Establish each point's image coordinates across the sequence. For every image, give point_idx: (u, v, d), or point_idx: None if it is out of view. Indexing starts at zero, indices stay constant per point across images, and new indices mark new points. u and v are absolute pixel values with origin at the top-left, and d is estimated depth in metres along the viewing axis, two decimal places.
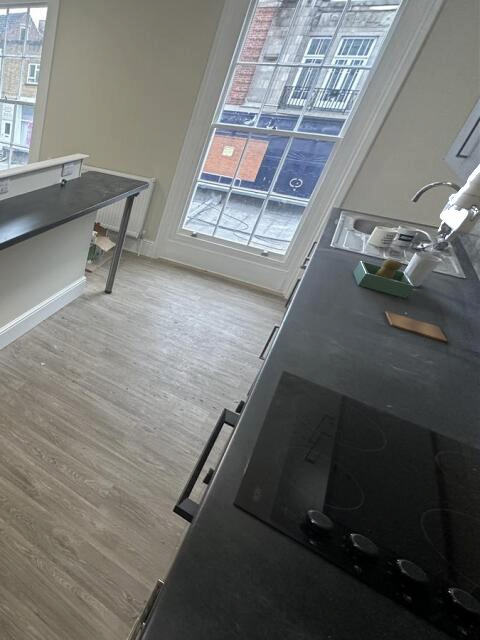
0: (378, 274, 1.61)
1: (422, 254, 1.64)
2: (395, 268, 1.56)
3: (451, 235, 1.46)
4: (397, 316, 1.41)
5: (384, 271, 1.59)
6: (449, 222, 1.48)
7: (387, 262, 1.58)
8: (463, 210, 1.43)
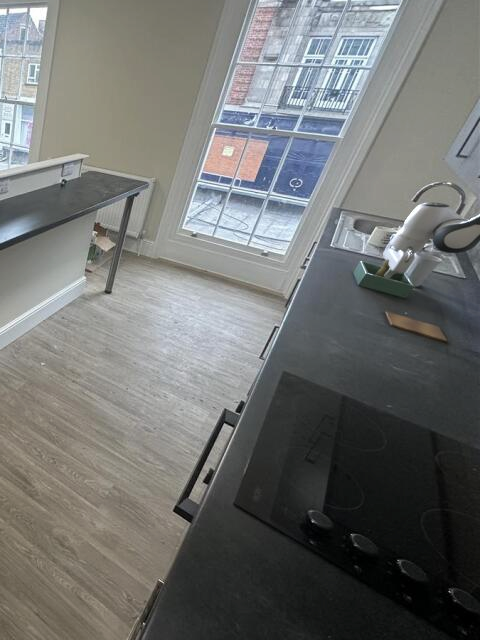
0: (378, 274, 1.61)
1: (422, 254, 1.64)
2: None
3: (389, 272, 1.56)
4: (397, 316, 1.41)
5: (384, 271, 1.59)
6: (389, 261, 1.57)
7: (387, 262, 1.58)
8: (400, 251, 1.52)
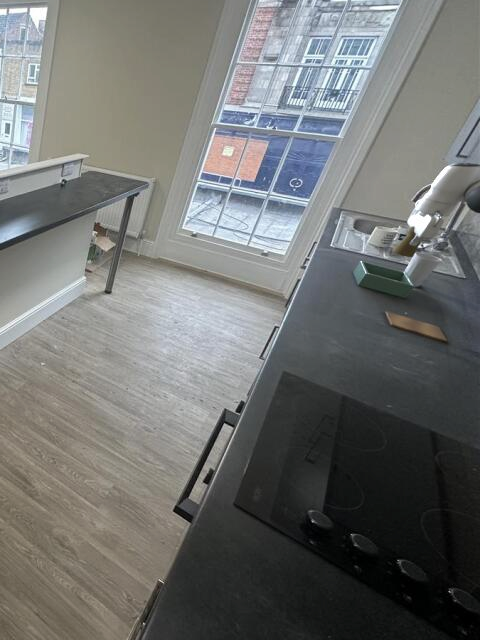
0: (403, 242, 1.52)
1: (422, 254, 1.64)
2: None
3: (415, 239, 1.48)
4: (397, 316, 1.41)
5: (410, 238, 1.50)
6: (415, 228, 1.49)
7: (413, 229, 1.49)
8: (427, 216, 1.44)
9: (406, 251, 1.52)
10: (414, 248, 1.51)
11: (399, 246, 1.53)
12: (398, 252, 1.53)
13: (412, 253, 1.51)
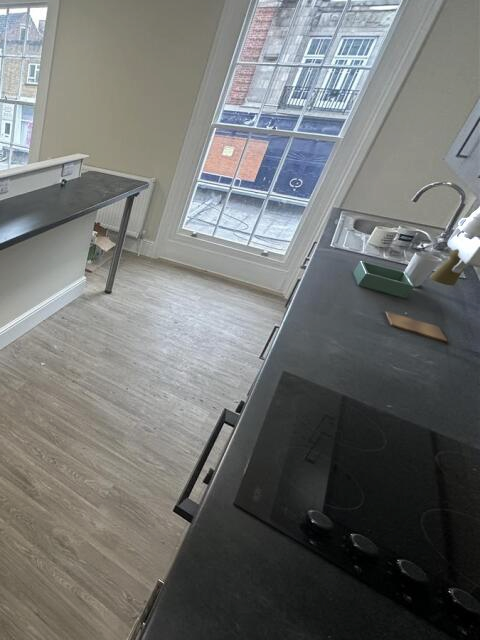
0: (443, 268, 1.29)
1: (422, 254, 1.64)
2: None
3: (459, 265, 1.25)
4: (397, 316, 1.41)
5: (452, 264, 1.27)
6: (459, 252, 1.25)
7: (456, 253, 1.26)
8: (475, 238, 1.20)
9: (447, 279, 1.28)
10: (457, 275, 1.27)
11: (438, 272, 1.30)
12: (437, 279, 1.30)
13: (454, 281, 1.28)
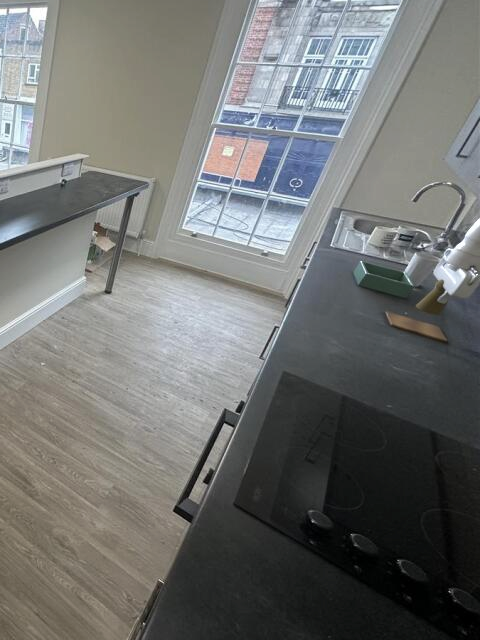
0: (429, 298, 1.31)
1: (422, 254, 1.64)
2: None
3: (444, 296, 1.27)
4: (397, 316, 1.41)
5: (438, 294, 1.29)
6: (444, 283, 1.27)
7: (441, 283, 1.28)
8: (460, 271, 1.22)
9: (433, 308, 1.30)
10: (442, 305, 1.29)
11: (424, 302, 1.32)
12: (423, 308, 1.32)
13: (440, 311, 1.30)
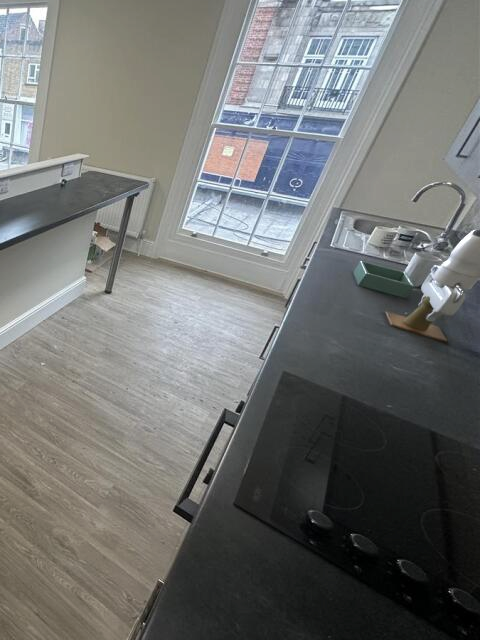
0: (416, 313, 1.34)
1: (422, 254, 1.64)
2: None
3: (432, 315, 1.28)
4: (397, 316, 1.41)
5: (425, 310, 1.32)
6: (431, 299, 1.30)
7: (428, 300, 1.31)
8: (446, 288, 1.25)
9: (420, 324, 1.33)
10: (429, 321, 1.32)
11: (412, 317, 1.35)
12: (411, 324, 1.35)
13: (427, 326, 1.33)
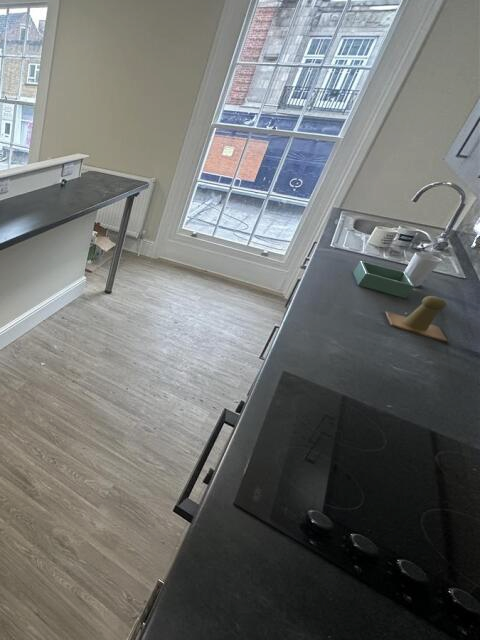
0: (416, 314, 1.34)
1: (422, 254, 1.64)
2: (438, 308, 1.30)
3: None
4: (397, 316, 1.41)
5: (424, 310, 1.32)
6: None
7: (428, 300, 1.31)
8: None
9: (420, 324, 1.33)
10: (429, 321, 1.32)
11: (412, 317, 1.35)
12: (410, 324, 1.35)
13: (426, 326, 1.33)
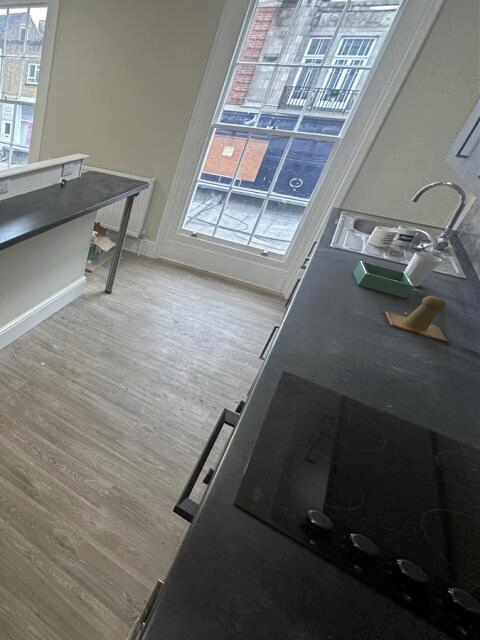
0: (416, 314, 1.34)
1: (422, 254, 1.64)
2: (438, 308, 1.30)
3: None
4: (397, 316, 1.41)
5: (424, 310, 1.32)
6: None
7: (428, 300, 1.31)
8: None
9: (420, 324, 1.33)
10: (429, 321, 1.32)
11: (412, 317, 1.35)
12: (410, 324, 1.35)
13: (426, 326, 1.33)
